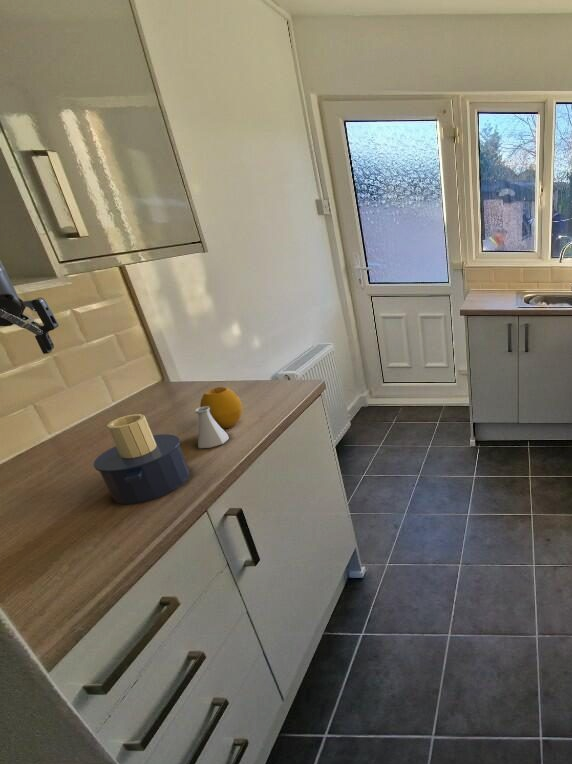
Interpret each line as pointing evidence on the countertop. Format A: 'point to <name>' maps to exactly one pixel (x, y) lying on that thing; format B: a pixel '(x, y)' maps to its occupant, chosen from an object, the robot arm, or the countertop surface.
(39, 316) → the robot arm
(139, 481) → the pot
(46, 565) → the countertop surface
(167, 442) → the pot lid
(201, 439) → the flask
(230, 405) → the round orange vase
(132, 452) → the pale yellow hollow cylinder
